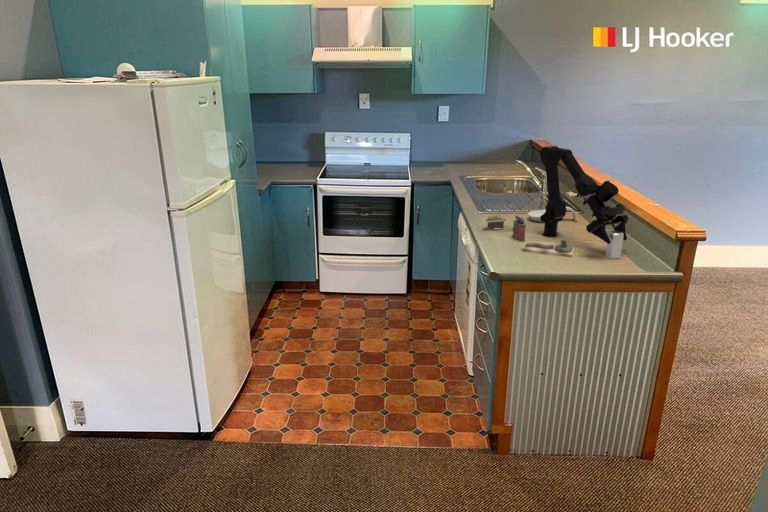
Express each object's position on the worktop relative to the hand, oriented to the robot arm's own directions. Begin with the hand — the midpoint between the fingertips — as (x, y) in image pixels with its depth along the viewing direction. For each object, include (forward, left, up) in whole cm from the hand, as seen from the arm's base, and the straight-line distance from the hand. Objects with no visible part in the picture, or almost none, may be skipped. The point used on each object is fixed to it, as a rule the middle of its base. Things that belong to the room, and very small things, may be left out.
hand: (617, 241), depth 216 cm
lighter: (-10, -40, -7) cm, 42 cm away
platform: (-21, -53, -7) cm, 58 cm away
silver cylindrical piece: (-1, -1, -7) cm, 7 cm away
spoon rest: (-46, -30, -7) cm, 55 cm away
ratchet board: (+1, -26, -7) cm, 27 cm away
